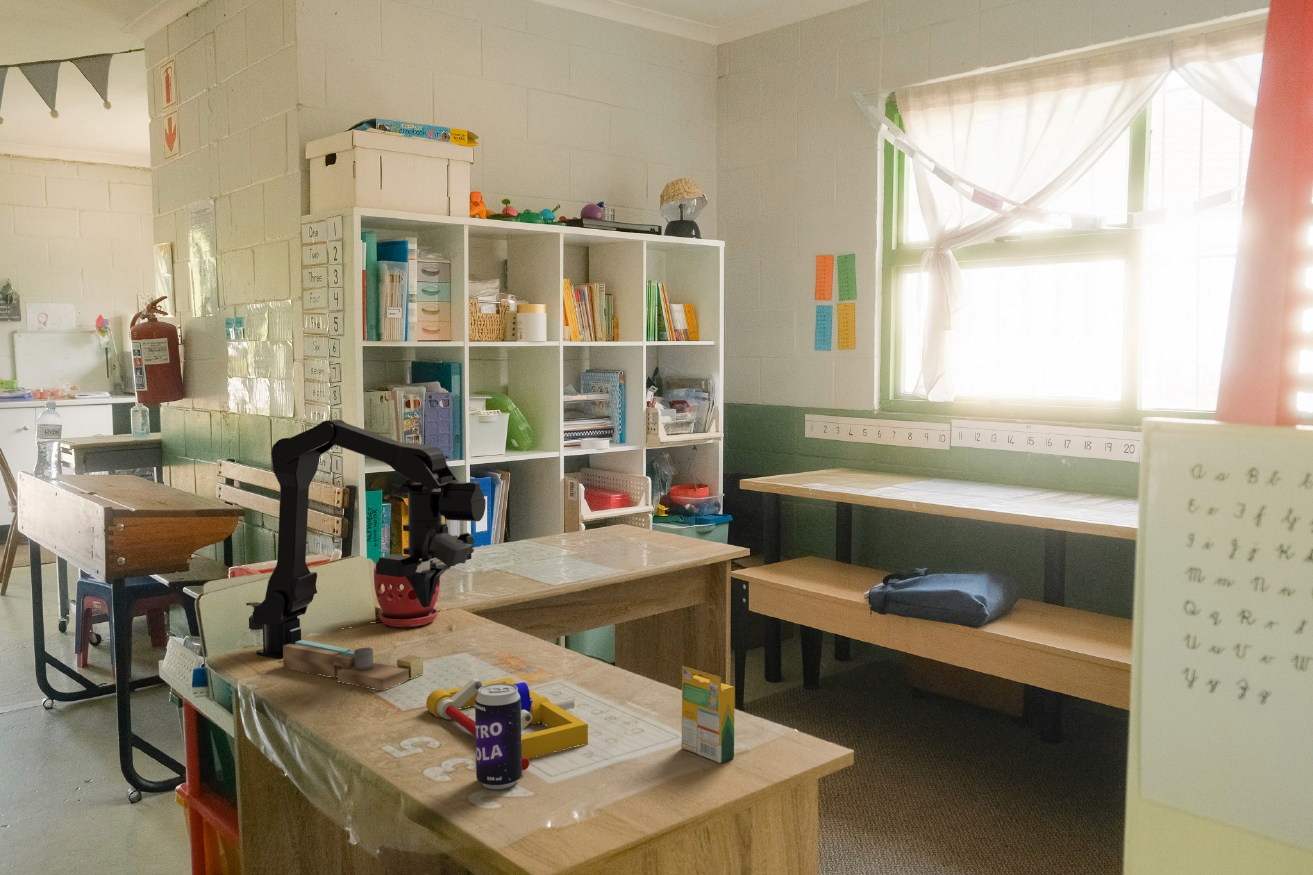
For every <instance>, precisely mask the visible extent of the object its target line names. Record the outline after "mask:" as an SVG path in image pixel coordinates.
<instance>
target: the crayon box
mask: <svg viewBox="0 0 1313 875" xmlns="http://www.w3.org/2000/svg"><path fill="white" fill-rule="evenodd" d="M681 675H682V676H681V750H684V751H688V752H691V753H693V754H695V755H696V754H697V755H699V756H701V757H704V758H707V759H709V760H711V761H714V762H716V763H718V764H721V763H725V762H727V761H729V760H732V759H733V758H735V693H736V692H735V689H736V688H735V686H733V685H731V684H726V683H723V682H722V677H721V676H718V675H714V674H710V673H708V672H704V671H702V670H697V669H696V668H695V669H694V668H692V667H688V666H685V665H682V666H681ZM700 675H701V676H700Z"/></svg>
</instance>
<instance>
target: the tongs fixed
mask: <svg viewBox="0 0 1313 875" xmlns="http://www.w3.org/2000/svg"><path fill="white" fill-rule="evenodd" d="M353 651H354V657H350V656H345V655H341V653H339V652H334V651H328V650H323V649H317V648H311V647H306V646H300V645H295V644H287V645H284V646H283V657H282V658H283V660H282V661H283V669H284V670H289V669H291V670H290V671H294V670H297V671H296V672H299V671H302V672H301V673H305V672H309V673H308V674H310V673H313V674H312V675H315V674H321V675H325V676H331V677H336V676H337V682H338V681H340V682H344V683H350V684H353V685H352V686H354V685H359V686H364V687H369V688H375V689H378V690H377V691H379V690H385V689H387V688H390V687H391V686H395V685H398V684H399V683H402V682H404V681H407V680H408V679H409V669H406V668H400V667H397V666H393V665H388V664H385V663H383V664H382V663H377V662H374V649H373V648H371V647H362V648H356V649H354V650H353ZM341 667H345V668H343V669H341ZM325 676H324V677H325ZM407 682H408V681H407ZM344 683H343V684H344ZM402 684H403V683H402ZM359 686H358V687H359ZM398 686H399V685H398ZM364 687H363V688H364ZM395 687H396V686H395ZM369 688H368V689H369ZM390 689H391V688H390Z"/></svg>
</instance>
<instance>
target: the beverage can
mask: <svg viewBox="0 0 1313 875" xmlns="http://www.w3.org/2000/svg"><path fill="white" fill-rule="evenodd" d="M517 690H518V688H517V686H515V685H513V684H509V683H493V684H488V685H484V686H482V687H480V688H479V689H478V695H477V697H476V699H475V706H474V709H475V710H474V714H475V716H474V717H475V718H474V719H475V720H474V721H475V728H476V736H475V772H476V773H475V774H476V775H475V778H476V780H477V782H480V783H481V784H482V786H483V787H485V788H487V789H491V790H503V789H508V788H511V787H512V786H514V785H515V784H516V783H517V781H518V780H520V778H521V777H522V776H523V775H522V774H523V770H522V740H521V735H522V731H521V697H520V695H519V693H518V691H517Z"/></svg>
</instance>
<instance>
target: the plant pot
mask: <svg viewBox="0 0 1313 875" xmlns="http://www.w3.org/2000/svg"><path fill="white" fill-rule="evenodd" d="M373 581H374V582H373V584H374V585H373V586H374V591H375V595H376V599H377V602H378V605H379V607H380V609H381V611H382V612H381V613H380V614H379V620H380V621H381V622H382V623H383V624H385V625H386V626H389V627H397V628H412V627H420V626H426V625H427V624H430V623H431V622H433V621H434V620H435V619H436V618H437V617H438V616H439V610H438V609H436V608H434V607H435V605H436V603H437V601H438V597H439V593H440V584H441V577H440V578H439V580H438V583H437V585H436V588H435V591H434V595H433V598H432V601H431V604H430V606H429V607H422V605H421V603H420V601H419V600H418V598H417V596H416V594H415V592H414V590H413V588H412V586H411V584H410V583H409V581H408V579H407V578H406V576H405V577H394V576H387V575H380V574H376V566H375V567H374V568H373ZM382 585H383V586H384V591H383V590H382ZM401 585H403V588H402V589H401V587H400V586H401Z"/></svg>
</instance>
